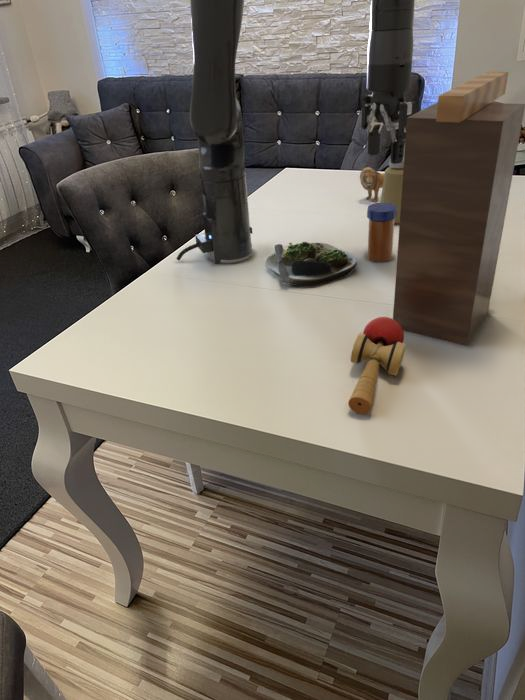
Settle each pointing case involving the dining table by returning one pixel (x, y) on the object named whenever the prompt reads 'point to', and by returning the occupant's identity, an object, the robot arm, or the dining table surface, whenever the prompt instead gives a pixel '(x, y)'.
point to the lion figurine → (371, 181)
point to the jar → (380, 240)
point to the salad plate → (310, 263)
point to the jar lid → (381, 211)
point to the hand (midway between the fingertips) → (384, 158)
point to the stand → (453, 218)
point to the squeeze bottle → (393, 186)
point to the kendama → (375, 358)
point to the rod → (470, 97)
